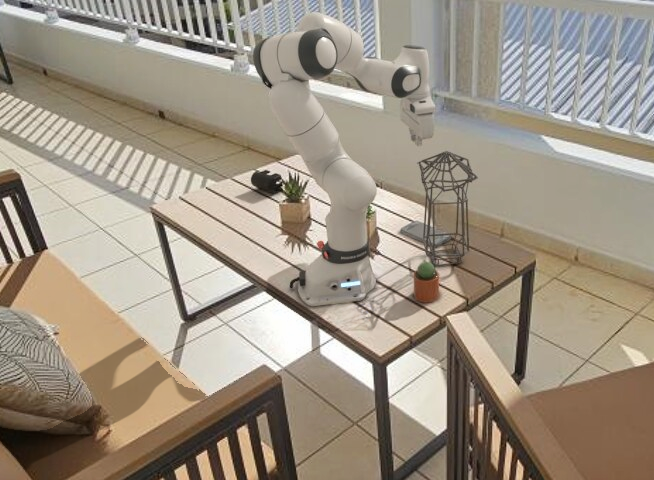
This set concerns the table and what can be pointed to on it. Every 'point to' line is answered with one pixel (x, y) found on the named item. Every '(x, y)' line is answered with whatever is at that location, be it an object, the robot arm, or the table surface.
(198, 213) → the table surface
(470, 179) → the geometric lantern
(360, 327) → the table surface
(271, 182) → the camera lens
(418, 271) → the succulent pot
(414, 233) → the phone
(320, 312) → the table surface
